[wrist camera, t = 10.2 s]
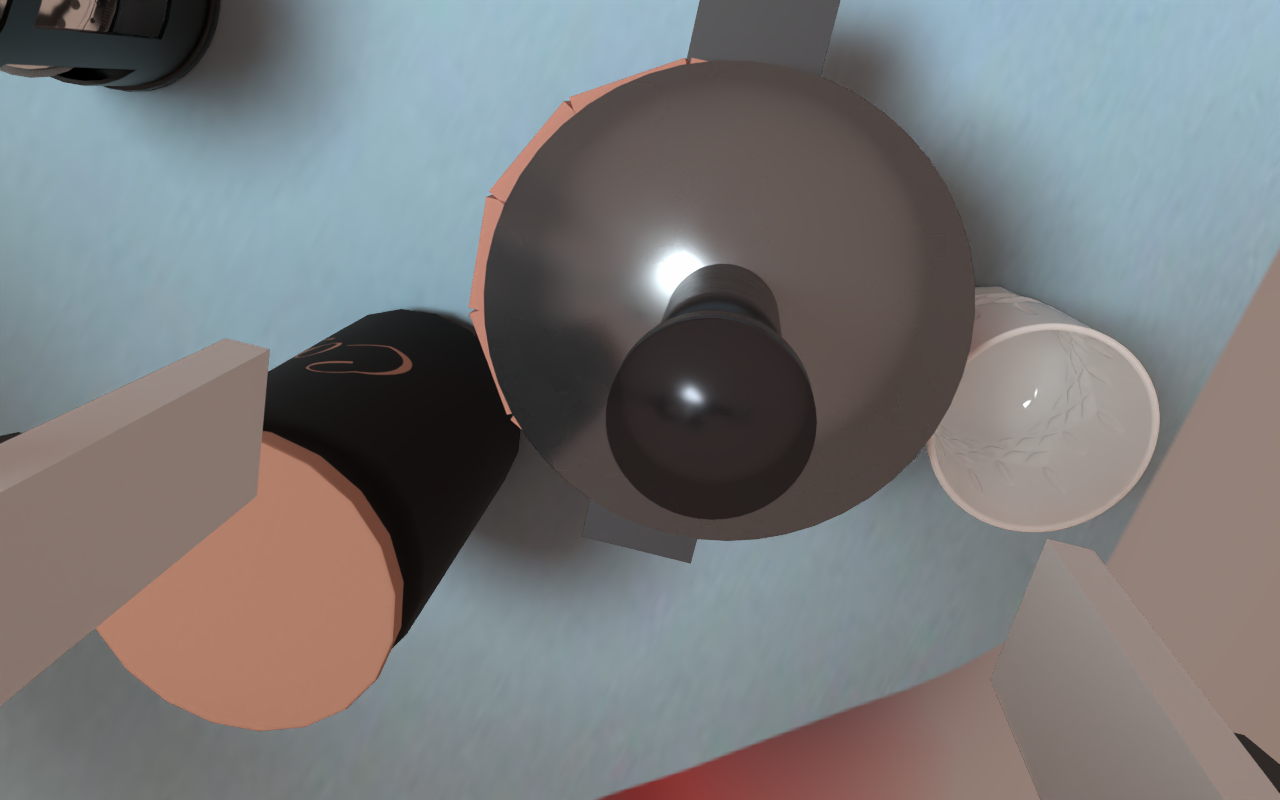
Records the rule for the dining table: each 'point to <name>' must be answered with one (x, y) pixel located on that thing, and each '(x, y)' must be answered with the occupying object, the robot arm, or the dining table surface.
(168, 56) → the french press
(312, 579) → the coffee jar
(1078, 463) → the white cup
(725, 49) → the pot
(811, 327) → the lid
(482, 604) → the dining table surface
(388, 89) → the dining table surface
